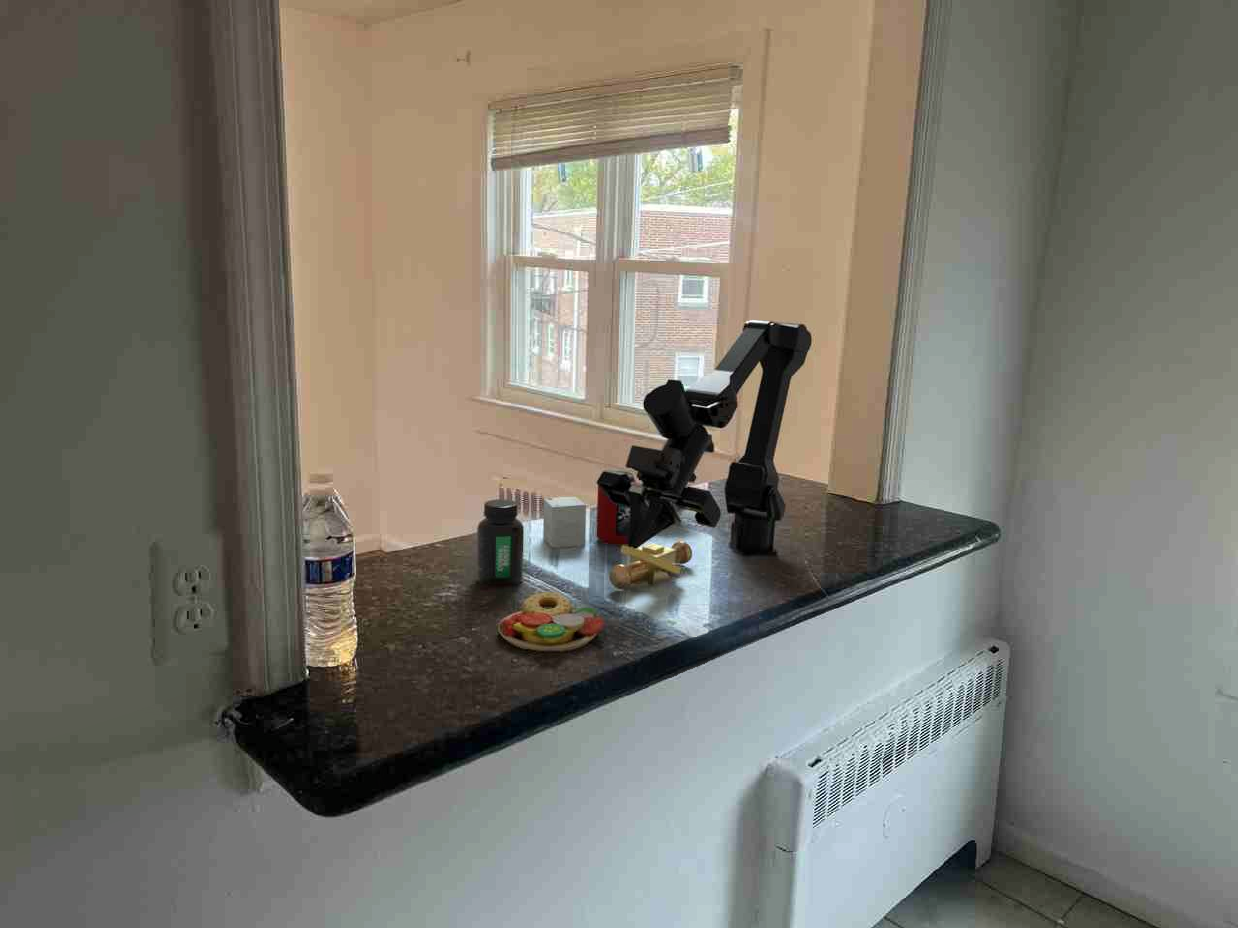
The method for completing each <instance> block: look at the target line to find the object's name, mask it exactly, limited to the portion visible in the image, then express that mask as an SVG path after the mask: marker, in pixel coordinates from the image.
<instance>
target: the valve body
mask: <svg viewBox="0 0 1238 928" xmlns="http://www.w3.org/2000/svg"><path fill="white" fill-rule="evenodd" d="M637 549H639V550H642V551H644V552H646V553H648V554H651V555H653V556H655V557H657V558H660V559H662V560H664V561H666V562H668V563H677V564H681V565H682V573H684V572H686V565H685V564H687V563H689V562H690V561H691V560H692V557H693V550H692V548H691V546H690V544H688V543H687V542H685V541H683V540H682V541H677V542H675V543H674V544H673V545H672V546H671V547H666V546H662V545H659V544H656V543H655V544H654V543H650V544H646V545H644V546H643V545H642V546H639V547H638V548H637ZM671 579H673V577H669V576H668V571H665V570H662V569H659V568H657V567H655V566H652V565H650V564H648V563H645V562H643V561H641V560H638V559H636V558H634V557H631V556H629V563H628V564H619V563H618V564H616V565H614V566H612V567H611V568H610V570H609V582H610V583H611V584H612V586H614V588H616V589H618V590H624V589H629V590H632V591H633V590H634V591H637V592H639V591H641V590H644V589H646V588H648V586H653V587H654V586H657V585H658V584H661V583H664V582H666V581H669V580H671Z"/></svg>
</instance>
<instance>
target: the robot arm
mask: <svg viewBox="0 0 1238 928" xmlns="http://www.w3.org/2000/svg"><path fill="white" fill-rule="evenodd" d="M812 339H813V338H812V333H811V332H810V331H809V330H808V328H807V326H806V325H805V324H803V323H793V322H781V321H780V322H779V321H773V320H763V319H762V320H761V319H751V320H747V321H745V323H744V325H743V328H742V332H741V333H740V335H739V336H738V337H737V339H736V340H735V341H734V343H733V344H732V346H730V348H729V350H728V351H727V352H726V354H725V355H724V356H723V358H722V359H721V360H720V361H719V363H718V364H717V365H716V367H715V368H714V370H712V372H711V373H710V374H706V375H705V376H702V377H700V378H698V379H696V380H695V381H694V382H693V383H692V384H691V385H690V386H688V387H687V389H686V390H685V387H684V384H683V383H682V380H680V379H673V378H669V379H668V380H667V381H666V383H665V384H661V385H659V386H657V387H655V388H654V389H651V391H650V392H648V393H647V394H646V395H645V397H644V399H643V404H642V405H643V406H642V407H643V409H644V411H645V413H646V414H647V416H648V417H649V419H650V420H651V422H652V424H653V425H654V427H655V428H656V430H657V432H658V434H659V435H660V436H661V437H662V438H664V439H666V441H665V443H664V444H663V446H662V448H661V449H656V448H650V447H644V446H639V445H634V444H633V445H631V447H630V449H629V453H628V456H627V460H626V463H625V468H627V469H632V470H634V471H636V472H637V473H636V476H635V477H636V478H637V479H638V480H639V481H640V482H641V483H640V482H637V481H636V482H632V481H631V479H630V478H629V476H628V475H627V473H622V472H617V471H618V470H612V469H607V470H603V471H602V472H601V473H600V475H599V477H598V478H597V480H596V482H595V483H596V485H597V487H598V486H599V487H600V488H601V490H602V491H603V492H604V494H605V495H606V496H607V498H608V499H609V500H610V502H612V503H614V504H616V505H620V506H624V507H630V521H629V528H628V535H627V541H626V544H625V545H626V546H628V547H632V548H636V549H638V548H640V547H642V546H643V545H644V544H645V543H647V542H648V541H649V540H651V539H652V538H654V537H655V536H656V535H658V534H661V532H664V531H665V530H667V529H668V528H670V527H672V526H674V525H681V523H682V519H681V516H682V514H683V512H686V511H690V512H695V515H694V518H695V521H696V523H697V525H700V526H705V527H709V528H713V529H714V528H716V526H717V525H718V523H719V522H720V520H721V516H722V515H721V513H722V511H721V508H720V506H719V504H718V503H717V501H716V500H715V498H714V496H713V495H712V492H711V491H710V490H707V489H703V488H699V487H698V488H697V487H693V486H688V483H692V484H694V483H695V482H696V480H697V475H696V473H695V470H696V469H697V467H698V465H699V463H700V461H701V459H702V458H703V455H704V454H705V452H706V453H711V454H712V453H714V452H715V444H714V441H713V435H712V434H711V433H709V432H708V430H707V429H706V427H711V428H715V429H724V428H726V427H727V426H728V424H730V421H731V420H732V419H733V417H734V414H735V413H736V411H737V409H738V406H739V404H738V394H739V392H740V389H742V387H743V386H744V384H745V382H746V381H747V380H748V378H749V377H750V376H751V374H752V373H753V371H754V370H755V369H756V367H757V366H758V365H759V364H760V367H761V371H762V373H761V378H760V383H759V387H758V391H757V396H756V401H755V405H754V410H753V414H752V419H751V423H750V427H749V433H748V436H747V442H746V446H745V449H744V454H743V455H742V457H740V459H738V461H732V462H731V463H730V465H729V468H728V469H729V470H728V474H727V475H728V476H727V478H726V481H725V483H724V485H725V486H724V498H725V503H726V504H725V505H726V511H727V513H728V514H734V521H732V523H731V528H730V529H731V530H730V541H729V542H728V545H729V547H731V548H733V549H734V550H735V551H737V552H738V553H739V554H741V555H742V556H757V555H759V556H760V555H774V554H775V555H776V554H778V552H779V551H778V550H777V549H776V548H774V542H775V541H774V540H775V530H776V529H775V528H776V522H780V521H782V519H783V517H784V515H785V512H786V506H787V504H786V503H785V501H784V499H783V497H782V495H781V493H780V491H779V488H778V487H779V481H780V478H779V473H778V471H777V469H776V466H775V463H774V458H775V454H776V448H777V445H778V440H779V435H780V430H781V427H782V421H783V418H784V411H785V407H786V404H787V398H788V394H789V389H790V385H791V381H792V378H793V376H795V374H796V373H798V371H799V370H800V369H801V368H802V367H803V366H804V365H805V363H806V358H807V356H808V352H809V351H810V348H811V347H812ZM642 482H643V484H642Z"/></svg>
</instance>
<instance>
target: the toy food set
mask: <svg viewBox="0 0 1238 928" xmlns="http://www.w3.org/2000/svg"><path fill="white" fill-rule="evenodd" d="M596 611H597V610H595V609H594V608H590V607H582V608H578V609H576V610H574V609H573V607H572V604H571V602H570V600H569V599H568V598H567V597H566V596H564V595H562V594H559V593H556V592H544V591H543V592H539V593H534V594H532V595H530V596H529V597H528V598H526V599H525V600H524V602H523V604H522V610H520V611H517V612H513V613H512V614H509V615H508V616H506V617H503V619H501V621H500V622H499V624H498V632H499V634H500V635H501V637H502V638H503V639H504V640H506V642H508V643H509V642H510V643H509V644H511V645H512V644H513V645H512V646H514V645H515V647H516V646H517V647H516V648H519V647H520V648H519V649H522V648H523V649H522V650H526V649H531V650H538V651H560V652H565V650H567V651H573V650H575V649H578V648H581V647H583V646H585V645H586V644H588V643H589V642H590V641H593V639H594V638H595V637H596V636H597V634H598V633H599V632H601V631H602V630H603V628H604V627H605V622H604V620H603V619H602V618H601V617H598V616H597V612H596ZM531 650H530V651H531ZM538 651H537V652H538Z"/></svg>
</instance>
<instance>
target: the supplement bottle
mask: <svg viewBox="0 0 1238 928" xmlns="http://www.w3.org/2000/svg"><path fill="white" fill-rule="evenodd" d="M483 506H484V507H483V509H484V510H483V516H484V517H485V518H483V519H481V520H480V521H479V522H478V525H477V526H476V527H477V528H476V529H477V531H476V535H477V536H476V541H477V542H476V578H477V579H476V580H477V581H478V582H479V584H481V585H483V586H486V587H489V588H510V587H513V586H516V585H518V584H520V583H521V582H522V581H523V578H524V534H525V533H524V530H525V529H524V525H523V522H522V521H520V520H519V519H518V518H517V517H518V503H517V502H516V501H514V500H511V499H503V498H502V499H491V500H487V501H485V502H484V504H483Z"/></svg>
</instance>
